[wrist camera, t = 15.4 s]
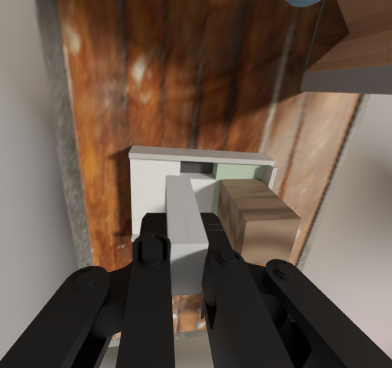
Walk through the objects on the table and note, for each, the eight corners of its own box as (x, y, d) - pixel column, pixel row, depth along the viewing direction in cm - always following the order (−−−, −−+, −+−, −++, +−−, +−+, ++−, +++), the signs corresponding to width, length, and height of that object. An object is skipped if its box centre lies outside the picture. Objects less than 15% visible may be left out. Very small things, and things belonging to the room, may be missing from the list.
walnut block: (220, 179, 46) (246, 221, 32) (258, 178, 47) (300, 218, 33) (217, 213, 50) (239, 265, 35) (253, 212, 51) (288, 261, 37)
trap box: (132, 145, 44) (127, 155, 38) (264, 153, 49) (279, 163, 43) (134, 227, 53) (130, 246, 46) (246, 226, 58) (256, 243, 52)
